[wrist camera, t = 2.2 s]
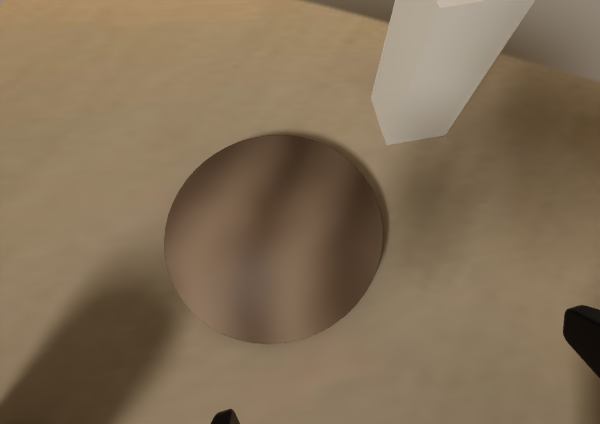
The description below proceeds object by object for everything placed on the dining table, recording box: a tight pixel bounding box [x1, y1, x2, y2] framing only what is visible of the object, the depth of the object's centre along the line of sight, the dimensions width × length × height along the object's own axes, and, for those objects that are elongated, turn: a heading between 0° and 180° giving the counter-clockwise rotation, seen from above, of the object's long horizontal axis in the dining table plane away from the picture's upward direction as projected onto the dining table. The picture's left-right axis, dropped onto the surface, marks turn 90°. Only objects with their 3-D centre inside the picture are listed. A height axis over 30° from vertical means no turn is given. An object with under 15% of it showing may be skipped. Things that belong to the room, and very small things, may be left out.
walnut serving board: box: [164, 135, 383, 344], centre depth 24 cm, size 16×16×1 cm
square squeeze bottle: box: [371, 0, 535, 145], centre depth 22 cm, size 5×5×14 cm
